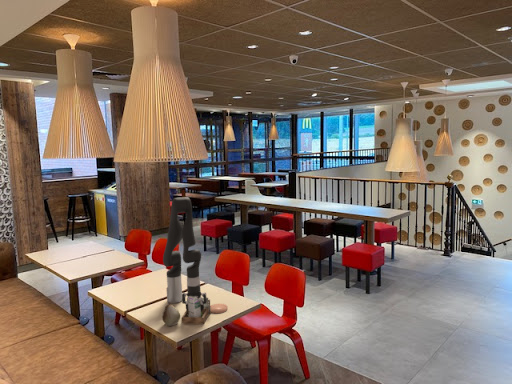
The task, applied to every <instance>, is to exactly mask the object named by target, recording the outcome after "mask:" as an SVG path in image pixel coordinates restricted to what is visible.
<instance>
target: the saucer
mask: <svg viewBox="0 0 512 384" xmlns="http://www.w3.org/2000/svg"><path fill="white" fill-rule="evenodd" d="M228 308H229V307H228V305H227V304H225V303H214V304H210V309H211V314H222V313H225V312H226V311H228Z"/></svg>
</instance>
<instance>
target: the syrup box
mask: <svg viewBox="0 0 512 384" xmlns="http://www.w3.org/2000/svg"><path fill="white" fill-rule="evenodd" d="M197 297H198V296H197ZM197 297H195V296H192V297H190V296H189V297H188V296H187V295H186V299H187V298H188V299H189V298H190V301H189V303H188V311H189V315H188V317H203V315H202V311H201V303H200V302H198V300H197ZM201 297H202V295H201V296H200V298H199V299H201Z"/></svg>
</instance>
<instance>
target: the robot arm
mask: <svg viewBox="0 0 512 384" xmlns="http://www.w3.org/2000/svg"><path fill="white" fill-rule="evenodd" d="M192 206H193V205H192V201H191V199H190V197H188V196H184V197H183V196H182V197H173V199H172V201H171V206H170V220H169V225H168V231H167V239H166V244H165V248H164V252H163V255H162V263H163V265H164V266H165V267H167V268H168V267H171V268H170V269H169V270H167V271H166V284H167V287H166V299H167V303H170V304H177V303H180V302H181V303H182V304H184V305H185V311H186V310H187V311H188V303H189V301H190V298H189V299H188V300H187V299H186V298H187V296H188V297H189V296H190V297H192V296H195V297H197V296H198V297H197V300H198V302H200V303H201V311H203V309H204V304H206V302H207V297H208V296H207V292H202V291H201V277H200V264H201V260H202V252H201V251H200V250H199V249H196V248H195V249H190V248H191V247H194V246H195V245H196V238H195V232H194V224H193V223H194V222H193V221H194V220H193V207H192ZM181 213H182V214H183V213H185V216H186V217H185V221H184V224H182V223H181V222H180V220H179V217H178V215H179V214H181ZM181 242H182V243H183V247H182V248H183V252H182V255H181V253H180V251H179V250H175V248H176V247H177V246H178V245H179V244H180V243H181ZM189 249H190V250H189ZM182 259H183V262H184V263H185V264H190V263H191V265H189V266H187V267H186V287H187V288H186V289H187V292H186V291H185V292H183V284H182ZM200 296H201V297H203V298H204V301H203V300H202V298H201V299H199V298H200Z"/></svg>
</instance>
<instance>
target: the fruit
mask: <svg viewBox="0 0 512 384" xmlns="http://www.w3.org/2000/svg"><path fill="white" fill-rule="evenodd" d="M161 319H162V322H163V323H164V325H165V326H168V327H171V326H172V327H173V326H175V325H177V324H178V323H179V322H180V319H181V313H180V312H179V310H177V309H176V308H175V306H174V305H172V304H171V303H170V302H168V304H167V305H166V306H165V308H164V310H163V312H162V316H161Z"/></svg>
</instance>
